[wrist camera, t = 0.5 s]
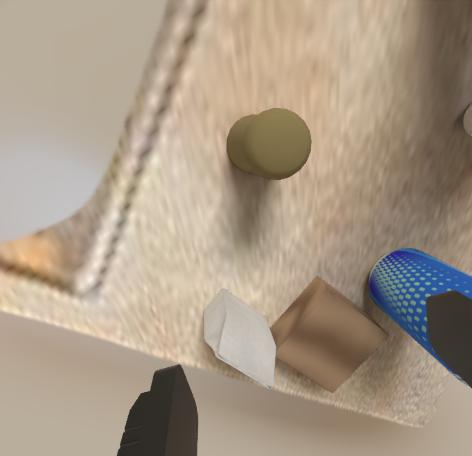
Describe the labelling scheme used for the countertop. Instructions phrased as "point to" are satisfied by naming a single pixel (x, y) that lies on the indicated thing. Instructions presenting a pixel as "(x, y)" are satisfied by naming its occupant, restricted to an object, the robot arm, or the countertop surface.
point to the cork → (270, 144)
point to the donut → (468, 120)
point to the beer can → (414, 290)
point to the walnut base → (325, 335)
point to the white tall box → (240, 337)
